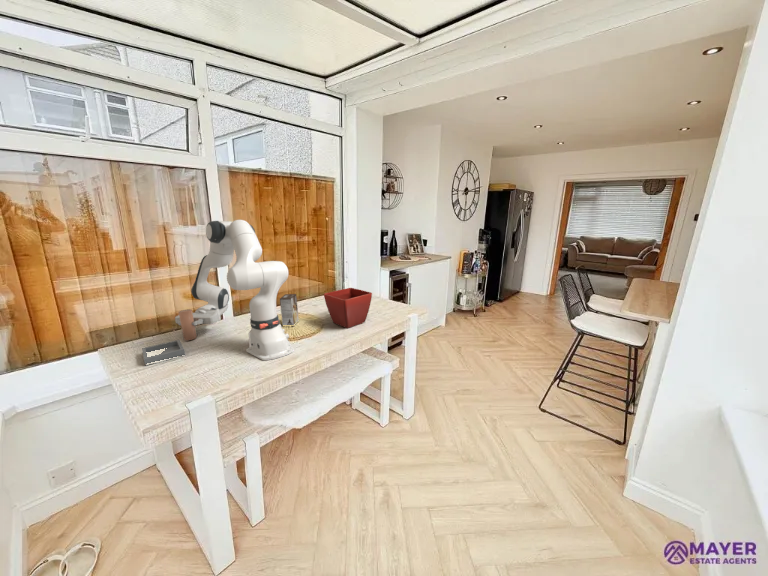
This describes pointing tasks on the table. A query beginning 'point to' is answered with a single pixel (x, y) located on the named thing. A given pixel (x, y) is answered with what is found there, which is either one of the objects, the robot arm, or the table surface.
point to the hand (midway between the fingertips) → (186, 324)
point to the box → (172, 351)
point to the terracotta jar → (187, 324)
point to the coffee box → (289, 309)
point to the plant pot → (348, 306)
